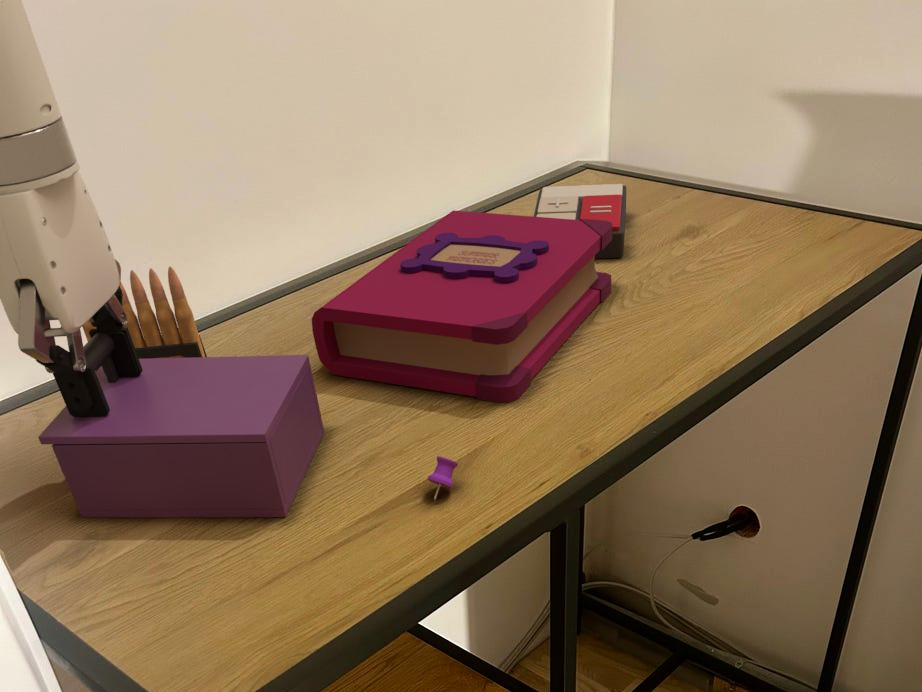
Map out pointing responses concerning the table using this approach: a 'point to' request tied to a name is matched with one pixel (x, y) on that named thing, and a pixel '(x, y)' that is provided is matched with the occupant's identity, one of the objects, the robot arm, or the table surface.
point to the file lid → (183, 399)
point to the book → (468, 305)
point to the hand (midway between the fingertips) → (107, 392)
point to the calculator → (588, 209)
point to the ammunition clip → (160, 320)
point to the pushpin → (443, 473)
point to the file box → (199, 470)
